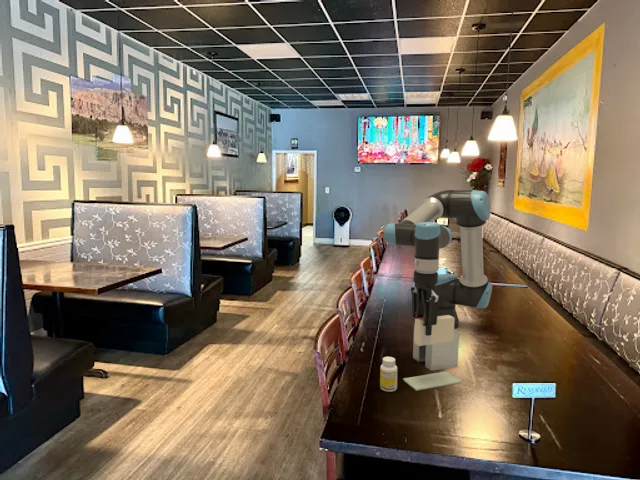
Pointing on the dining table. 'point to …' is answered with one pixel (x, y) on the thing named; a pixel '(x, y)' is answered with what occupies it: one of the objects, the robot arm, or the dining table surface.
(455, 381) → the pad
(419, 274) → the robot arm
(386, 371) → the supplement bottle
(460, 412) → the dining table surface
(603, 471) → the dining table surface
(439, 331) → the cream rectangular block
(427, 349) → the plate
